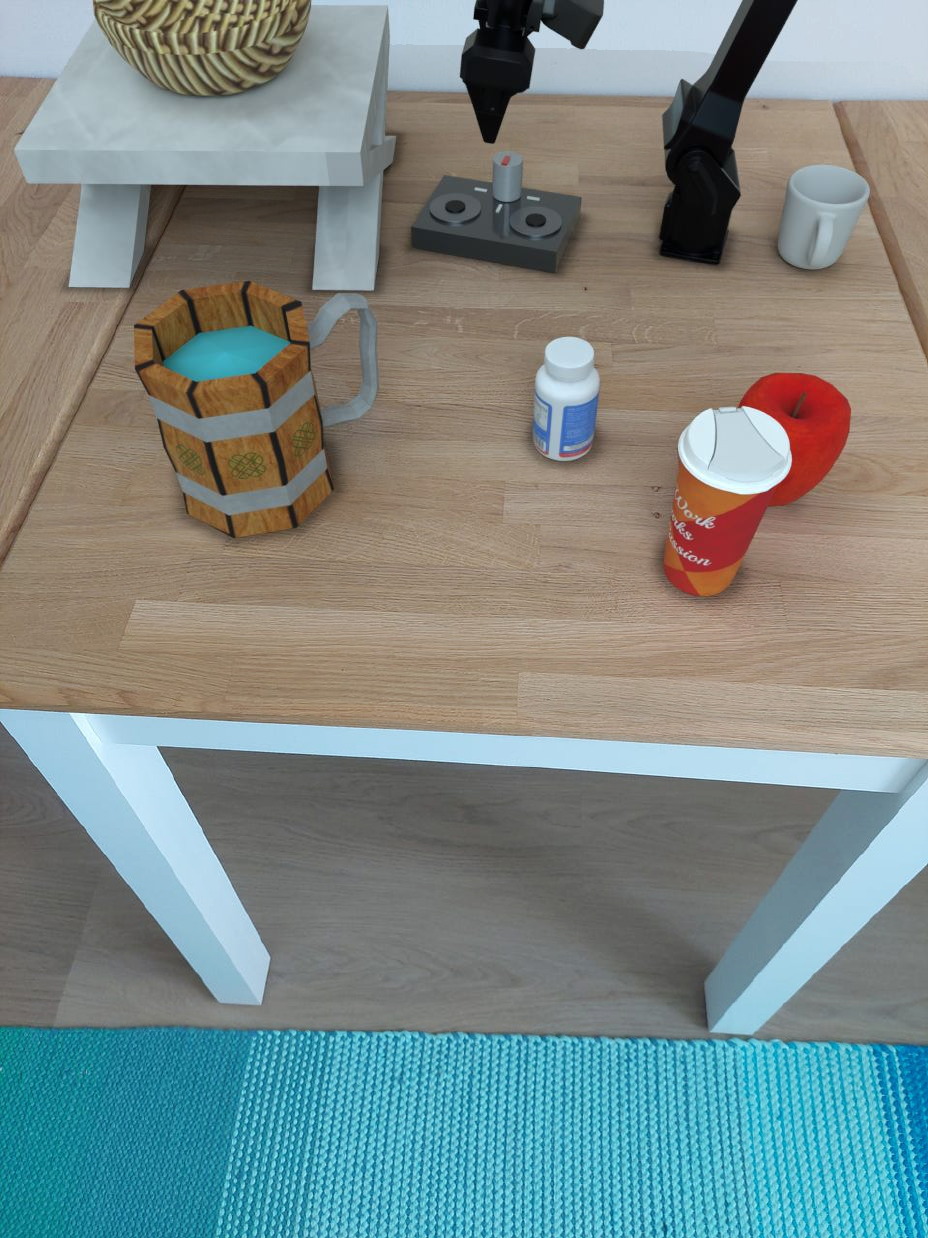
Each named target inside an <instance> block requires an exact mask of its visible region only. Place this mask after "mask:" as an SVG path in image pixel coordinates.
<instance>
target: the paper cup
mask: <svg viewBox="0 0 928 1238" xmlns="http://www.w3.org/2000/svg"><path fill="white" fill-rule="evenodd" d="M678 439H679V440H678V443H677V451H678V456H679V464H678V470H677V476H676V481H675V487H674V493H673V499H672V505H671V512H670V516H669V523H668V529H667V535H666V542H665V548H664V554H663V555H664V556H663V571H664V574H665V576H666V578H667V580H668V581H669V582H670V584H672V585H673V586H674V587H675V588H677V589H678V590H680V591H681V592H683V593H686V594H688V595H691V596H698V597H711V596H714V595H717V594H720V593H721V592H724V591H725V590H726V589H727V588H728V587H729V586H730V584H731V583H732V582H733V580H734V578H735V576H736V574H737V572H738V570H739V568H740V566H741V564H742V562H743V560H744V558H745V556H746V554H747V551H748V549H749V547H750V545H751V543H752V541H753V539H754V536H755V534H756V533H757V531H758V528H759V526H760V524H761V522H762V519H763V517H764V516H765V513H766V511H767V509H768V507H769V506H768V504H769V502H770V500H771V498H772V496H773V494H774V492H775V489H776V487H777V485H778V483H780V482H781V481H782V480H783V479H784V478H785V477H786V475H787V474H788V472H789V470H790V467H791V463H792V455H791V451H790V443H789V439H788V436H787V434H786V432H785V430H784V429H783V427H782V426H781V425H780V424H779V423H778V422H777V421H776V420H775V419H773V418H772V417H771V416H769V415H767V414H765V413H764V412H761V411H759V410H757V409H753V408H750V407H745V406H742V407H741V409H740V408H738V407H736V406H723V407H718V409H713V408H712V407H711V408H708V409H706V410H704V411H702V412H700V413H699V414H698V415H697V416H695V417H694V418H693V420H692V421H691V422H690V423H689V425H688V426H686V427H685V429H684V430H683V431H682V433H681V435H680V436H679V438H678Z"/></svg>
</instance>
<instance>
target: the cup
mask: <svg viewBox="0 0 928 1238" xmlns="http://www.w3.org/2000/svg"><path fill="white" fill-rule="evenodd" d="M870 188H871V187H870V185H869V183H868V182H867V180H866V179H865V178H864V177H863V176H861V175H860V174H859V173H857V172H856V171H853V170H851V169H848V168H846V167H843V166H839V165H833V164H823V163H822V164H819V163H818V164H811V165H806V166H803V167H800V168H798V169H796V170H795V171H793V173H791V175H790V176H789V178H788V181H787V184H786V191H785V195H784V202H783V208H782V213H781V218H780V223H779V224H780V225H779V232H778V237H777V250H778V253H779V255H780V257H781V258H782V259H783V260H784V261H785V262H786V263H788V264H790V265H791V266H794V267H796V268H800V269H804V270H823V269H826V268H828V267H831V266H832V265H833V264H835V263H837V261H838V259H839V258H840V257H841V256H842V254H843V252H844V251H845V248H846V246H847V244H848V243H849V240H850V238H851V235H852V234H853V231H854V229H855V227H856V225H857V223H858V221H859V220H860V217H861V215H862V212H863V211H864V208H865V206H866V205H867V202H868V200H869V197H870V194H871V189H870Z"/></svg>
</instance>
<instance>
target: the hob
mask: <svg viewBox="0 0 928 1238" xmlns="http://www.w3.org/2000/svg"><path fill="white" fill-rule="evenodd" d="M492 189H493V181H485V180H479V179H472V178H467V177H460V176H453V175H448V174H443V175H442V177H441V179H440V180H439V182H438V184H437V185H436V186H435V188H434V190H433V191H432V193H431V194H430V196H429V197H428V199H427V201H426V203H425V204H424V206H423V207H422V208H421V210H420V212H419V213H418V214H417V216H416V217H415V220H413V223H412V224H411V226H410V232H411V247H412V249H417V250H423V251H428V252H434V253H439V254H444V255H445V254H446V255H450V256H454V257H455V256H456V257H462V258H467V259H472V260H479V261H484V262H490V263H495V264H501V265H507V266H511V267H516V268H517V267H518V268H523V269H529V270H534V271H540V272H546V273H551V274H556V273H557V270H558V268H559V266H560V263H561V261H562V259H563V256H564V254H565V253H566V250H567V248H568V245H569V243H570V242H571V239H572V237H573V235H574V233H575V230H576V228H577V226H578V223H579V222H580V219H581V213H582V212H581V211H582V202H583V201H582V200H583V197H582V196H577V195H572V194H565V193H559V192H553V191H547V190H541V189H533V188H528V187H523V186H522V194H521V197H520V198H519V199H517V200H515V201H512V202H503V201H499V200H497V199H495V198H494V197H493V194H492ZM451 193H460V194H466V195H470V196H472V197H474V198H476V199H477V200H478V201H479V202H480V204H481V212H480V214H479V216H478V217H477V218H475V219H474V220H472V221H469V222H466V223H461V224H449V223H444V222H441V221H438V220H436V219H435V218H434V217H433V216H432V215H431V214H430V209H429V207H430V204H431V202H432V201H433V200H434V199H436V198H437V197H439V196H442V195H445V194H451ZM532 206H538V207H545V208H549V209H551V210H553V211H555V212H557V213H558V214H559V215H560V216H561V218H562V226H561V228H560V230H559V231H558V232H557V233H555V234H553V235H551V236H548V237H543V238H530V237H525V236H522V235H519V234H517V233H516V232H514V231H513V230H512V229H511V227H510V224H509V220H510V217H511V215H512V214H513V213H514V212H515V211H517V210H519V209H522V208H525V207H532Z"/></svg>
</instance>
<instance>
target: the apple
mask: <svg viewBox="0 0 928 1238" xmlns="http://www.w3.org/2000/svg"><path fill="white" fill-rule="evenodd" d="M742 406H745V407H750V408H753V409H757V410H759V411H761V412H764V413H765V414H767V415H769V416H771V417H772V418H773V419H775V420H776V421H777V422H778V423H779V424H780V425H781V426H782V427H783V429H784V430H785V432H786V434H787V436H788V439H789V443H790V451H791V455H792V463H791V467H790V470H789V472H788V474H787V475H786V477H785V478H784V479H783V480H782V481H781V482H780V483H778V485H777V487H776V489H775V492H774V494H773V496H772V498H771V500H770V502H769V504H768V507H769V508H771V507H778V506H779V507H780V506H781V507H782V506H786V505H788V504H790V503H794V502H795V501H797V500H798V499H800V498H802V497H803V496H805V495H806V494H807V493H809V492H810V491H812V490H813V489H814V488H816V487H817V486H818V485H819V484H820V483H821V482H822V481H823V480H824V479H825V477H826V476H828V474H829V473H830V471H831V470H832V469H833V467H834V466H835V464H836V462H837V461H838V459H839V457H840V456H841V454H842V453H843V450H844V449H845V446H846V445H847V441H848V438H849V434H850V432H851V431H850V430H851V418H852V408H851V405H850V402H849V399H848V398H847V397H846V396H845V395H844V394H843V393H842V392H841V391H840V390H839V389H837V387H836V386H835V385H834V384H832V383H831V382H829V381H827V380H825V379H823V378H821V377H819V376H817V375H814V374H810V373H809V374H808V373H802V372H773V373H770V374H767V375H764V376H763V375H762V376H760V377H759V378H758V380H756V381H755V382H754V383H753V384H752V385H750V387H749V388H748V389H747V391H746V392H745V393H744V395H743V396H742V398H741V399H740V401H739V404H738V407H737V408H740V409H741V407H742Z"/></svg>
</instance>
